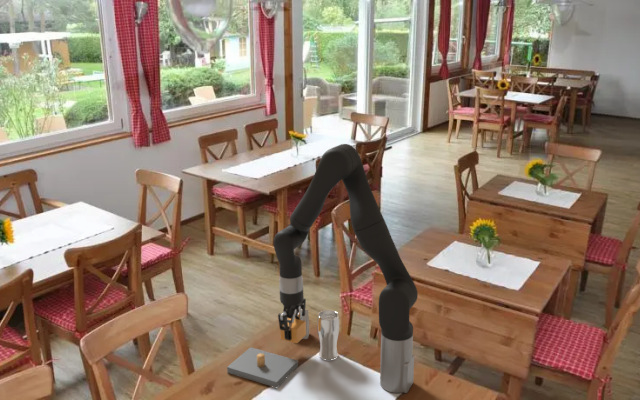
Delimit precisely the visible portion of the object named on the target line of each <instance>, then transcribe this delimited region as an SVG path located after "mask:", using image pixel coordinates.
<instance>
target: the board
mask: <svg viewBox="0 0 640 400" xmlns="http://www.w3.org/2000/svg"><path fill="white" fill-rule="evenodd" d="M298 367H299V360H298V359H294V358H290V357H287V356H284V355H280V354H276V353H273V352H269V351H266V350H261V349H259V348H254V347H249V348H248V349H246V350H245V351H244V352H243V353H241V355H240V356H238V357H237V358H235V360H234V361H232V362H231V363H230V364H229V365H228V366H227V367H226V369H227V374H230V375H233V376H237V377H240V378H243V379H246V380H250V381H254V382H256V383H259V384H263V385H267V386H269V387H272V386H273V387H272V388H275V387H277V388H279V386H281V384H282V383H283V382H285V380H287V378H288V377H289V376H290V375H292V373H293V372H294V371H295V370H296V369H297V368H298ZM286 377H287V378H286Z"/></svg>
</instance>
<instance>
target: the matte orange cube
mask: <svg viewBox="0 0 640 400" xmlns="http://www.w3.org/2000/svg"><path fill="white" fill-rule="evenodd" d="M287 320H291V319H290V318H287ZM288 326H289V323H288ZM279 331H280V332H279V333H280V340H282V341H285V342H289V343H290V342H291V343H294V344H298V343H299V342H301V340H302V338H303V337H304V336H305V335H306V321H303V320H298V319H294V323H292V327H291V335H292V339H291V340H290V341H289V340H286V339H285V334H284V330H280V329H279Z"/></svg>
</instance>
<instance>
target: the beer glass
mask: <svg viewBox="0 0 640 400" xmlns="http://www.w3.org/2000/svg"><path fill="white" fill-rule="evenodd" d="M316 325H317V326H316V327H317V335H318V340H319V345H320V348H319V354H318V355H319V356H320V357H321V358H322V359H326V360H331V359H334V358H336V357H337V355H338V356H339V354H338V349H337V344H338V343H337V342H338V338H339V333H340V332H339V331H340V318H339V313H338V312H337V311H335V310H332V309H324V310H322V311H319V312H318V313H317V324H316ZM319 356H318V357H319ZM320 357H319V358H320ZM321 358H320V359H321ZM337 358H338V357H337ZM337 358H336V359H337ZM322 359H321V360H322Z"/></svg>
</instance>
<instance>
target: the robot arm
mask: <svg viewBox="0 0 640 400" xmlns="http://www.w3.org/2000/svg"><path fill="white" fill-rule="evenodd" d="M365 171H366V170H365V168H364V165H363V162H362V158H361V155H360V154H359V153H358V150H357V149H356V148H355V147H354V146H352V145H350V144H348V143H342V144H339V145H336V146H334V147H331V148H329V149H328V150H326V151H325V152H324V153H323V154H322V157H320V160H319V163H318V164H317V167H316V170H315V172H314V174H313V177H312V179H311V182H310V183H309V185H308V187H307V189H306V191H305V193H304V194H303V196H302V197H301V199H300V201H299V202H298V203H297V205H296V207H295V209H294V210H293V211H292V213H291V215H290V218H289V222H290V223H289V224H288V226H287V227H284V228H283V229H281V230H279V231H277V233H275V236H274V238H273V248H274V251H275V252H274V253H275V255H276V258H277V262H278V264H279V265H278V267H279V271H278V272H279V280H278V282H279V284H278V285H279V286H278V288H279V300H280V303H281V304H282V305H283V310H282V313H278V314H277V318H278V324H279V325H278V326H279V331H280V330H284V334H285V339H286V340H289V341H290V340H291V339H292V335H291V327H292V323H294V318H295V319H298V320H302V319H303V316H305V310H306V301H307V300H306V298H305V297H304V296H305V294H304V279H303V272H302V271H303V265H302V260H301V257H300V256H299V255H297V254H295V250H296V249H297V248H299V247H300V246H301V245H302V244H303V243H304V242H305V240H307V237H308V235H309V233H310V230H311V227H312V226H313V225H314V224H315V222H316V220H317V219H318V217H319V216H320V214H321V212H322V210H323V208H324V205H325V201H326V200H327V197H328V196H329V194H330V192H331V191H332V190H333V188H334V187H335V186H337V184H338V183H339V182H340V181H341V182H342V183H343V185H344V188H345V189H346V193H347V196H348V199H349V201H348V202H349V215H350V223H351V226H352V230H353V233H354V234H355V236H356V239H357V241H358V243H359V245H360V247H361V248H362V249H363V251H364V252H365V253H366V254H367V255H368V256H369V257H370V258H371V259H372V260H373V261H374V262H375V263H376V264H377V265H378V267H379V269H380V271H381V273H382V274H383V279H384V280H385V284H386V286H385V287H384V288H383V289H382V290H381V292H380V293H379V297H378V324H379V327H380V329H381V330H380V332H381V333H380V364H379V365H380V369H379V370H380V371H379V372H380V374H379V375H380V376H379V384H380V386H381V387H382V389H384V390H385V391H387V392H390V393H395V394H399V393H404V394H407V393H408V392H409V390H410V389H411V387H412V385H413V384H414V376H415V375H414V372H415V371H414V370H415V355H414V354H413V343H414V340H413V339H414V325H413V323H412V322H411V321H410V310H411V309H412V307H414V305H415V304H416V303H417V300H418V296H419V295H418V294H419V293H418V290H417V287H416V284H415V282H414V280H413V278H412V277H411V275H410V273H409V271H408V270H407V267H406V266H405V264H404V263H403V260H402V258H401V256H400V254H399V251H398V250H397V249H398V248H397V246H396V245H395V242H394V240H393V238H392V235H391V233H390V230H389V228H388V225H387V222H386V221H385V219H384V216H383V214H382V212H381V209H380V207H379V205H378V203H377V200H376V197H375V195H374V193H373V191H372V188H371V187H370V183H369V181H368V178H367V174H366V172H365ZM301 310H302V311H301ZM288 318H290V319H291V320H287V319H288ZM288 323H289V326H288ZM289 341H288V342H289Z"/></svg>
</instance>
